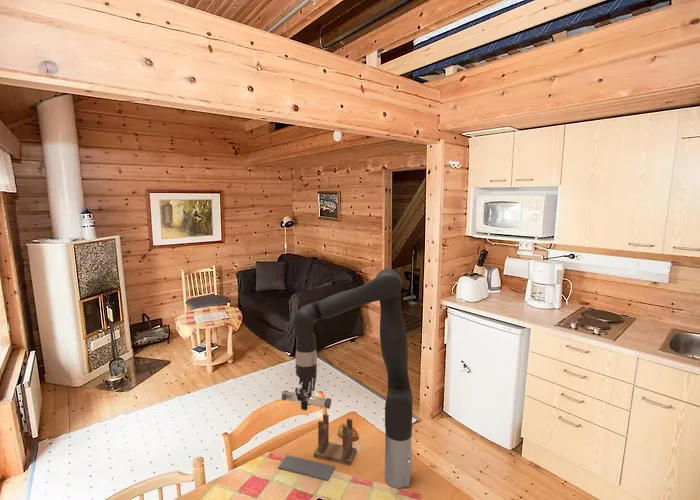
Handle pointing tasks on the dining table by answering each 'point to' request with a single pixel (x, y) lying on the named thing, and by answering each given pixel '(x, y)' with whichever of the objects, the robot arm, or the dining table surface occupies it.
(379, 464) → the dining table surface
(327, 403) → the capped glass tube
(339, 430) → the pastry
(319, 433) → the rack
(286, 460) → the mat
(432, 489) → the dining table surface
